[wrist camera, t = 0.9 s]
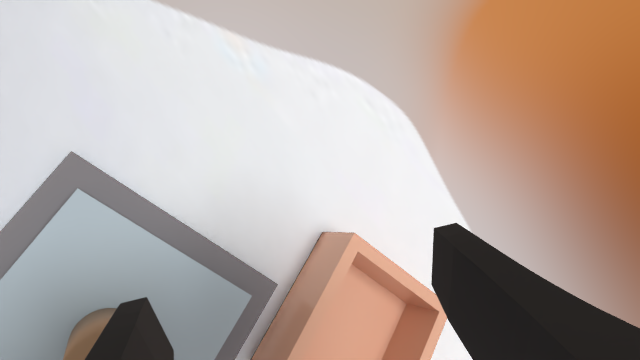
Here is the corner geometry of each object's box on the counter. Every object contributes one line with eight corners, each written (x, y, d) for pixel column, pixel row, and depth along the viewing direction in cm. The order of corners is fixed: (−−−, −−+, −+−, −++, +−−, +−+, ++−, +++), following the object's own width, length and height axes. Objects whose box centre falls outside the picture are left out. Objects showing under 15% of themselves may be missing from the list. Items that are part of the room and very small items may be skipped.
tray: (358, 419, 24) (395, 447, 21) (250, 360, 22) (275, 382, 19) (412, 297, 27) (451, 306, 24) (322, 232, 25) (354, 232, 22)
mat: (138, 519, 19) (139, 525, 18) (-160, 415, 15) (-166, 419, 14) (275, 283, 23) (277, 284, 23) (71, 152, 19) (71, 151, 19)
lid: (132, 485, 18) (142, 570, 14) (-97, 398, 15) (-181, 471, 11) (247, 293, 22) (286, 311, 17) (78, 189, 19) (71, 177, 14)
